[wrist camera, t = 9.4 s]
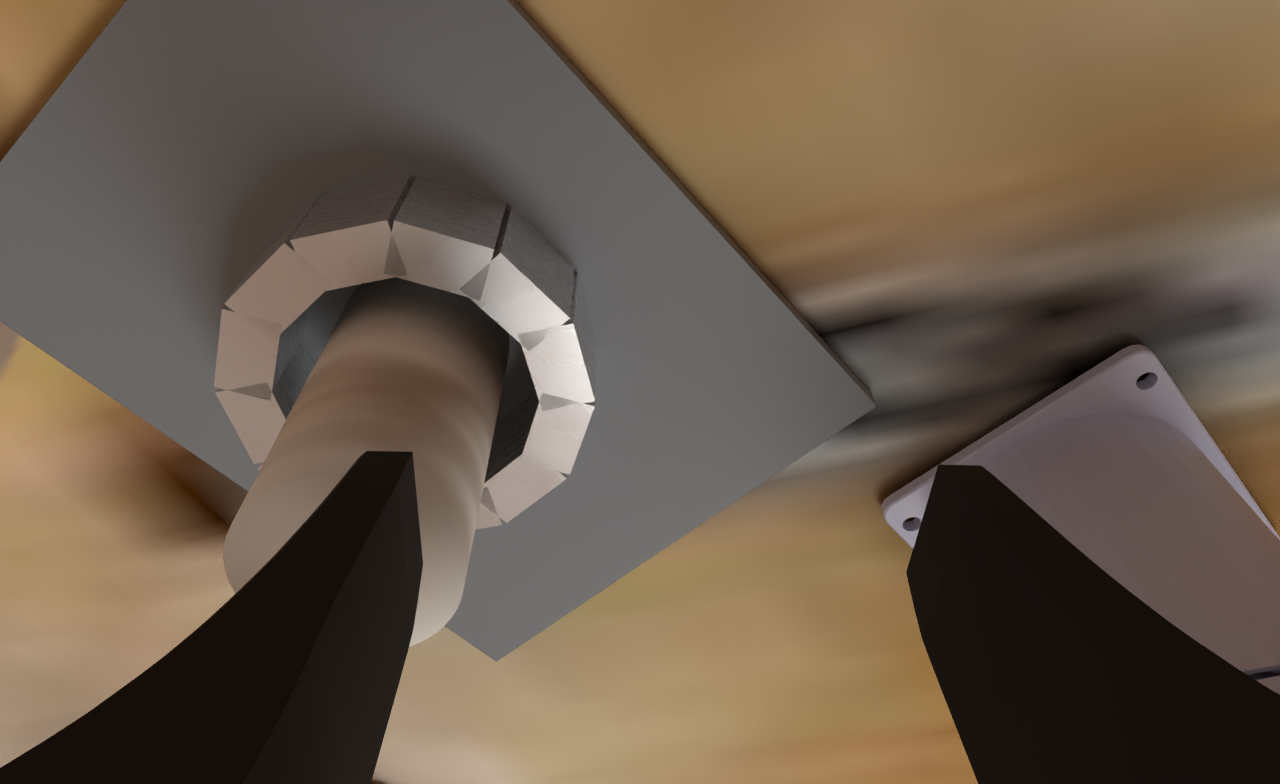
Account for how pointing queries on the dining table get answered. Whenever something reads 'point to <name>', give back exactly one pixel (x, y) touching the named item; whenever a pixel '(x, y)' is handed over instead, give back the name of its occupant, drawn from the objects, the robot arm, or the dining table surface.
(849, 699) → the dining table surface
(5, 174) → the rosette plate
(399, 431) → the beige rounded cylinder
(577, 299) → the ring collar
